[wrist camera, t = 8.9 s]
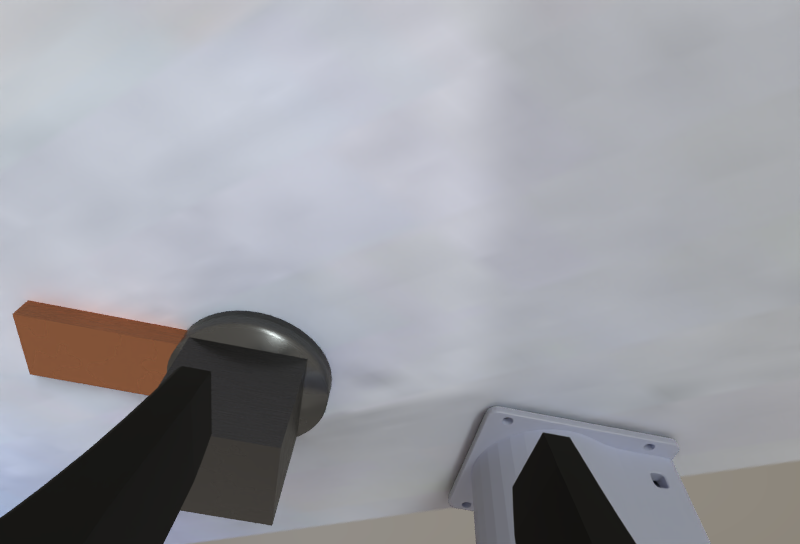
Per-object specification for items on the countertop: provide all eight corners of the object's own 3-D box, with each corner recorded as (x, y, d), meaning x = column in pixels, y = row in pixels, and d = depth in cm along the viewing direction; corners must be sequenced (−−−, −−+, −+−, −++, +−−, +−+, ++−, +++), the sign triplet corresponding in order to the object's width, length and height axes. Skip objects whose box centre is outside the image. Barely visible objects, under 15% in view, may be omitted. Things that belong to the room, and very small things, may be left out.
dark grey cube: (307, 359, 21) (280, 448, 17) (297, 434, 24) (272, 525, 20) (188, 336, 21) (135, 423, 17) (192, 415, 24) (146, 504, 20)
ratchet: (341, 327, 22) (326, 391, 19) (322, 433, 26) (307, 500, 23) (19, 266, 21) (-53, 322, 18) (50, 385, 25) (-4, 448, 22)
